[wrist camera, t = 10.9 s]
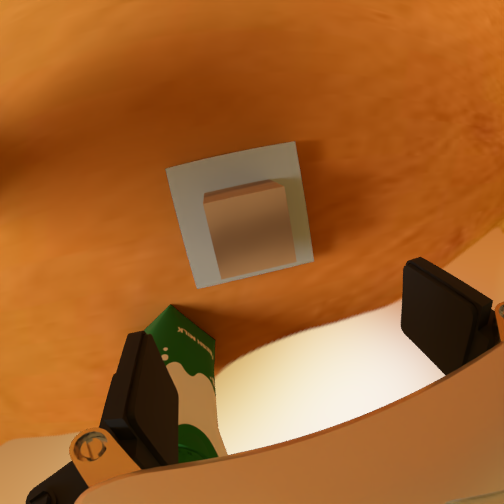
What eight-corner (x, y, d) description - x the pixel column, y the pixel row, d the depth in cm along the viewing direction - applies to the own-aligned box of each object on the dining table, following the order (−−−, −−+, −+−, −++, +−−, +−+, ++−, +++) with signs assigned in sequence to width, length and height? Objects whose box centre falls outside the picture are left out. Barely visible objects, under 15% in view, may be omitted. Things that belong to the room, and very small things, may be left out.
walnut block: (204, 193, 27) (203, 203, 22) (268, 179, 28) (284, 186, 22) (218, 254, 29) (221, 279, 24) (280, 240, 30) (296, 261, 24)
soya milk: (226, 339, 35) (247, 489, 17) (177, 379, 37) (171, 519, 18) (169, 293, 33) (139, 444, 14) (122, 340, 34) (78, 480, 15)
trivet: (168, 167, 29) (165, 168, 26) (288, 142, 29) (294, 141, 27) (197, 279, 33) (197, 289, 30) (306, 253, 33) (313, 261, 31)
